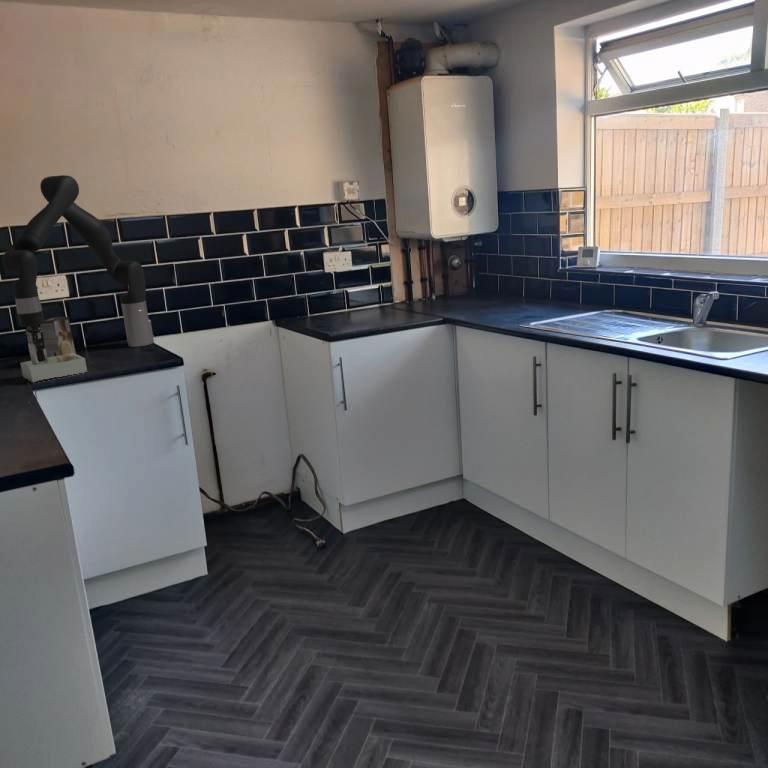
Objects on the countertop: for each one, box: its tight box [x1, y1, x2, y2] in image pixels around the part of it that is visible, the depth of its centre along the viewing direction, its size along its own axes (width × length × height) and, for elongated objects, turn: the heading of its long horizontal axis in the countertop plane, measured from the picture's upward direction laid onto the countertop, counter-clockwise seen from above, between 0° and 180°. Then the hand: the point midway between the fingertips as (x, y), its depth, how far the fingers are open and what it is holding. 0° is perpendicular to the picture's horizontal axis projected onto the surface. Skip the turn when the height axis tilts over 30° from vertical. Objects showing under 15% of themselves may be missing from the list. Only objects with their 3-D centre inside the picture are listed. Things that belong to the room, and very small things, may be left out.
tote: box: [20, 353, 88, 384], centre depth 249 cm, size 18×14×5 cm
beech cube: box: [56, 354, 76, 363], centre depth 251 cm, size 5×5×5 cm
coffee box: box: [39, 316, 77, 358], centre depth 268 cm, size 9×6×16 cm
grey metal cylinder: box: [27, 343, 48, 365], centre depth 245 cm, size 5×5×7 cm
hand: (39, 360), depth 246 cm, fingers closed on grey metal cylinder, 5 cm apart
